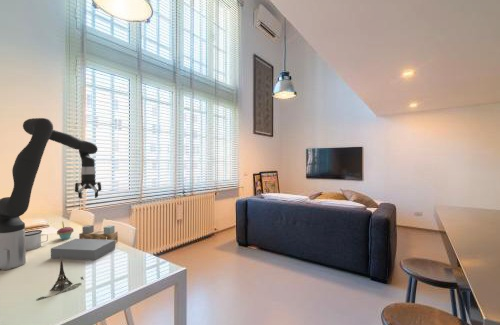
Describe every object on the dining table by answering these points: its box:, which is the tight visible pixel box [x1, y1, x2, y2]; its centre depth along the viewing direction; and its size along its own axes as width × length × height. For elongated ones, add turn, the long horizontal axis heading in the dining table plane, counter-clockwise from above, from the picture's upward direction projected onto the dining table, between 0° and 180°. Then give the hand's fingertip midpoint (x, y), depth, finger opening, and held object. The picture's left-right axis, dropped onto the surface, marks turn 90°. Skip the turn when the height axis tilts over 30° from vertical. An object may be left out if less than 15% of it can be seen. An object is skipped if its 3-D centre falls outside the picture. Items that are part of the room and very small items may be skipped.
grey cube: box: [82, 224, 95, 234], centre depth 142 cm, size 4×4×4 cm
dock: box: [50, 238, 117, 261], centre depth 126 cm, size 16×25×5 cm, turn 84°
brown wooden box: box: [78, 230, 119, 243], centre depth 141 cm, size 21×6×6 cm, turn 84°
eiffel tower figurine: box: [36, 257, 84, 301], centre depth 91 cm, size 15×10×13 cm
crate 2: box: [103, 224, 116, 234], centre depth 141 cm, size 4×4×4 cm
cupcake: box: [56, 220, 74, 240], centre depth 150 cm, size 9×8×12 cm
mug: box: [25, 229, 49, 251], centre depth 135 cm, size 12×10×9 cm
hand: (88, 198), depth 151 cm, fingers open, 8 cm apart
